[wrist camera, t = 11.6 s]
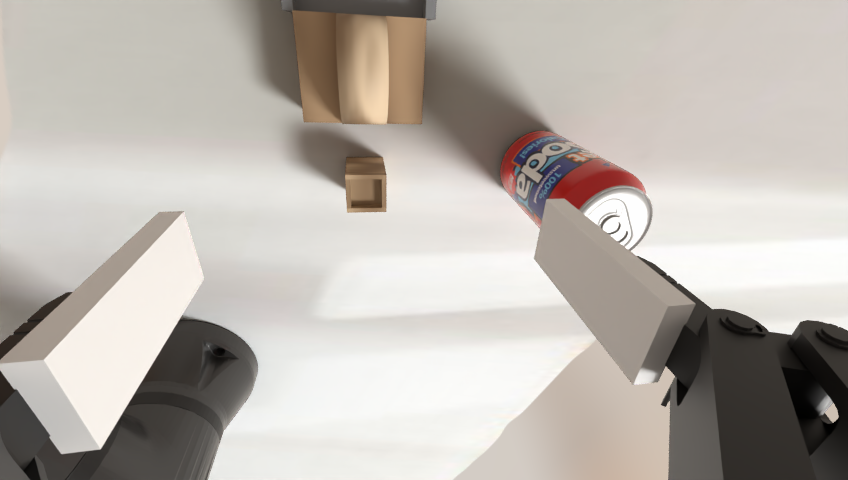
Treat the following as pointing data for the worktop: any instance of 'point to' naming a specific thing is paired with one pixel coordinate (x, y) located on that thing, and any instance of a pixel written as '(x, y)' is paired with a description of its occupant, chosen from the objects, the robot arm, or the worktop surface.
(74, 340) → the robot arm
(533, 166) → the soda can
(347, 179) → the hollow wooden sleeve
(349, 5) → the tray
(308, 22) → the tan rounded block
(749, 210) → the worktop surface
